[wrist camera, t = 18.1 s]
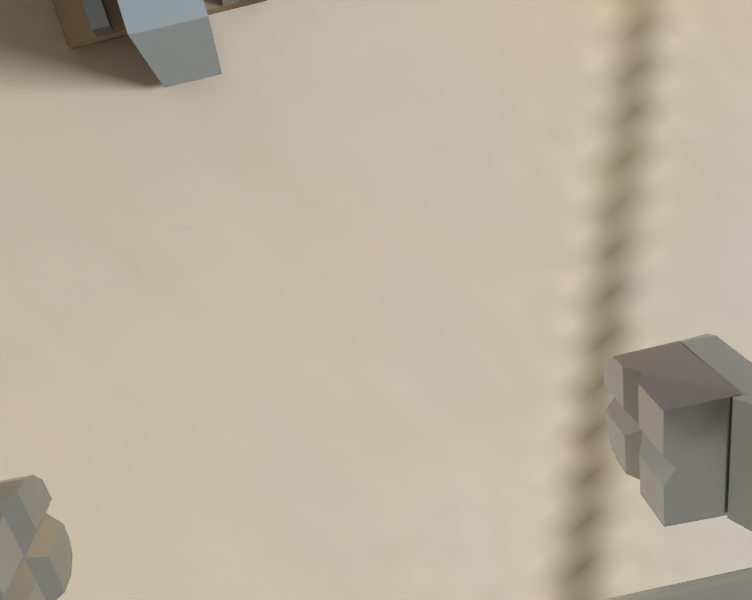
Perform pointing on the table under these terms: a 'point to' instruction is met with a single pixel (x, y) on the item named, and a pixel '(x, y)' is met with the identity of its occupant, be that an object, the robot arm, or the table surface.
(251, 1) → the track board
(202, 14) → the tall grey rectangular block
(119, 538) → the table surface
